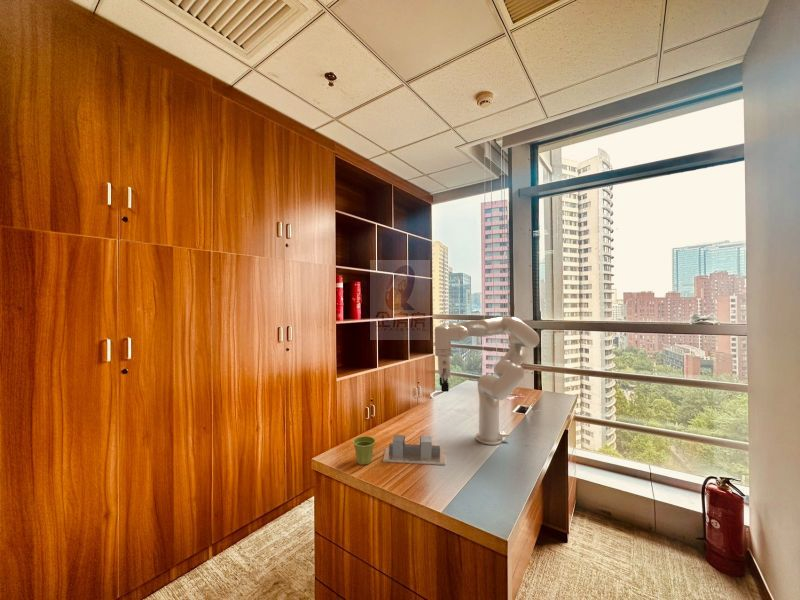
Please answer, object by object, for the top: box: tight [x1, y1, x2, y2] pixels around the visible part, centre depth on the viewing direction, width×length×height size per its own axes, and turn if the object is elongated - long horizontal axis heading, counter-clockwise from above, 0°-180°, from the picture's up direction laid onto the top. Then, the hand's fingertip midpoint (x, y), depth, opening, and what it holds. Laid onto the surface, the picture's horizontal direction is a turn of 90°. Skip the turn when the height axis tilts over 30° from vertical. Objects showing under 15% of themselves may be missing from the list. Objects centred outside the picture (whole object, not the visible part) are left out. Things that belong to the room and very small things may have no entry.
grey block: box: [419, 435, 433, 459], centre depth 136 cm, size 5×6×7 cm
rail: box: [382, 434, 446, 466], centre depth 137 cm, size 26×11×8 cm, turn 86°
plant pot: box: [352, 435, 376, 466], centre depth 132 cm, size 9×9×9 cm
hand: (444, 388), depth 149 cm, fingers open, 9 cm apart
